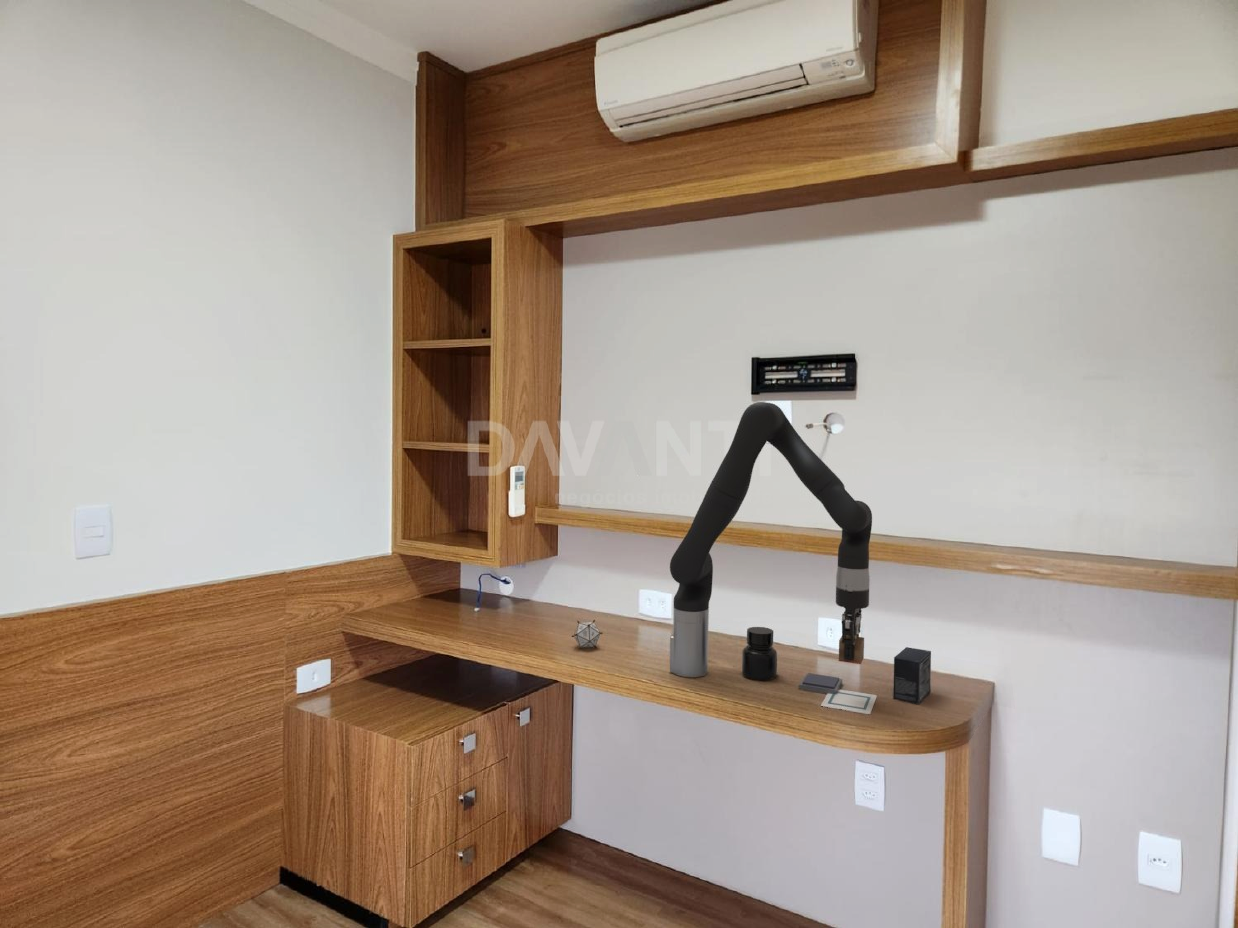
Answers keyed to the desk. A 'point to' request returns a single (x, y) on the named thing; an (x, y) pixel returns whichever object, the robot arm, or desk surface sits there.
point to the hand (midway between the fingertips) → (850, 656)
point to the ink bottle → (759, 655)
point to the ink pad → (820, 683)
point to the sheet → (850, 701)
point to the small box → (912, 675)
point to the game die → (587, 634)
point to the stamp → (857, 650)
